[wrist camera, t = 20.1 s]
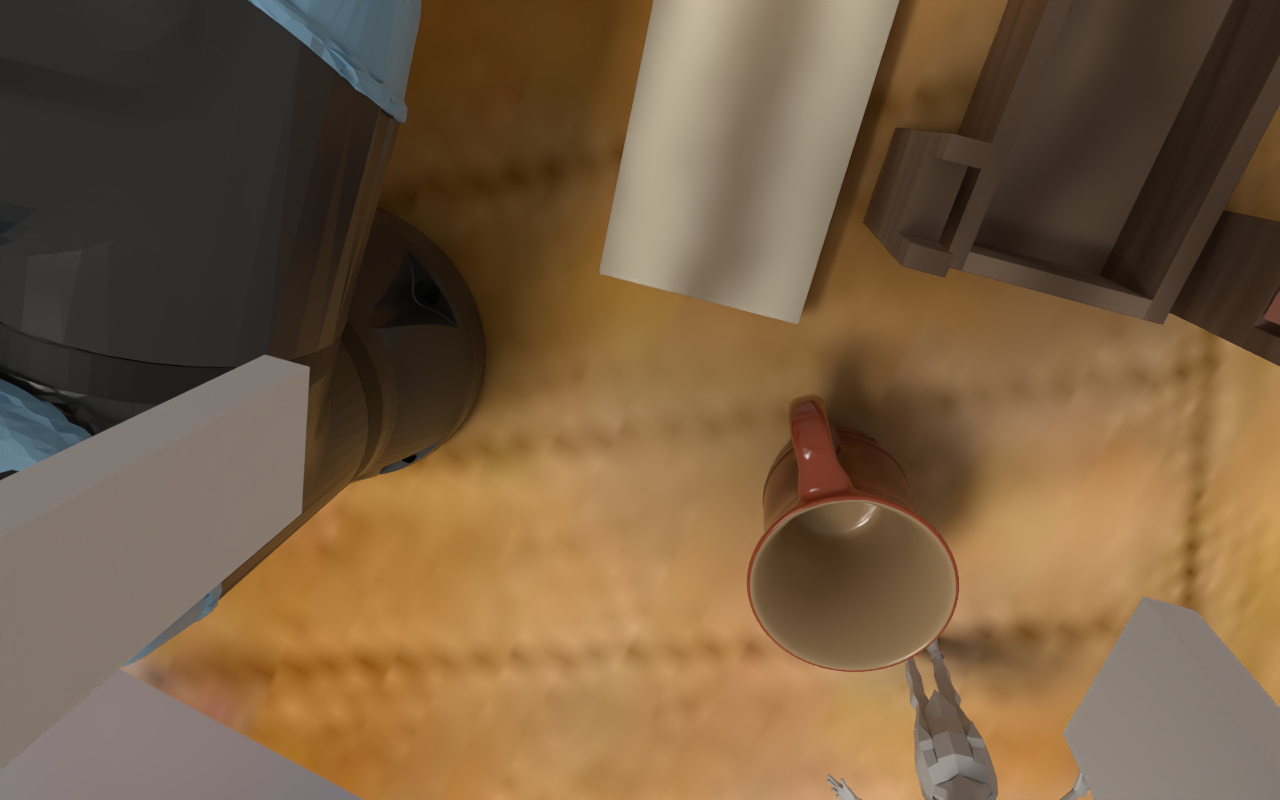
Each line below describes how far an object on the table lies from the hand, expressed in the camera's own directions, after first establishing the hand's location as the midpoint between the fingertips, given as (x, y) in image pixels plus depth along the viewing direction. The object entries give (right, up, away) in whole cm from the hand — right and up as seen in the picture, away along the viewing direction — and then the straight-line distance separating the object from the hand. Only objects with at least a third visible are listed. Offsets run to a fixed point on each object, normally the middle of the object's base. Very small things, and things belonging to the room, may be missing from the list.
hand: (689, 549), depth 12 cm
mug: (+9, -1, +29) cm, 31 cm away
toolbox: (+19, +15, +22) cm, 32 cm away
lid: (+4, +15, +25) cm, 29 cm away
